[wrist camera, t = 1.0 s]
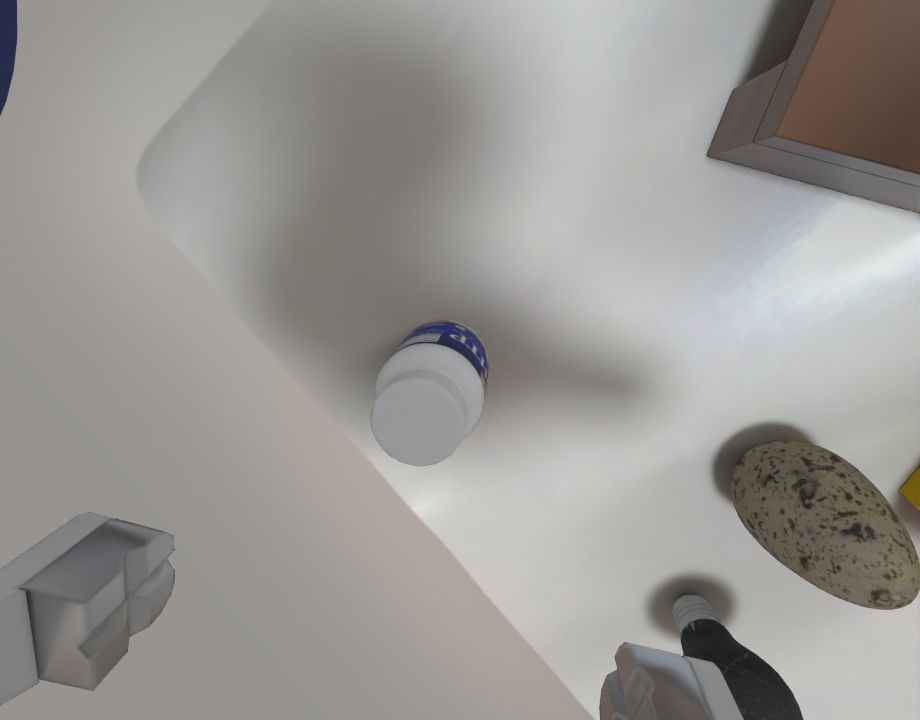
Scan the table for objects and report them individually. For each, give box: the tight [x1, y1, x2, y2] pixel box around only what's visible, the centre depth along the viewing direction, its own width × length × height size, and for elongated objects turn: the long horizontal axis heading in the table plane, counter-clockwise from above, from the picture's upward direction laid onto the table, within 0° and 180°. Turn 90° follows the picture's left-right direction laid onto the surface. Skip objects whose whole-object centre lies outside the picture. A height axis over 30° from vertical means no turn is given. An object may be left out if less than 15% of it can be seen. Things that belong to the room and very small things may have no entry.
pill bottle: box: [371, 319, 489, 466], centre depth 23 cm, size 5×5×9 cm
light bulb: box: [673, 595, 803, 720], centre depth 26 cm, size 6×6×10 cm
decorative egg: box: [731, 440, 920, 610], centre depth 22 cm, size 6×6×10 cm
